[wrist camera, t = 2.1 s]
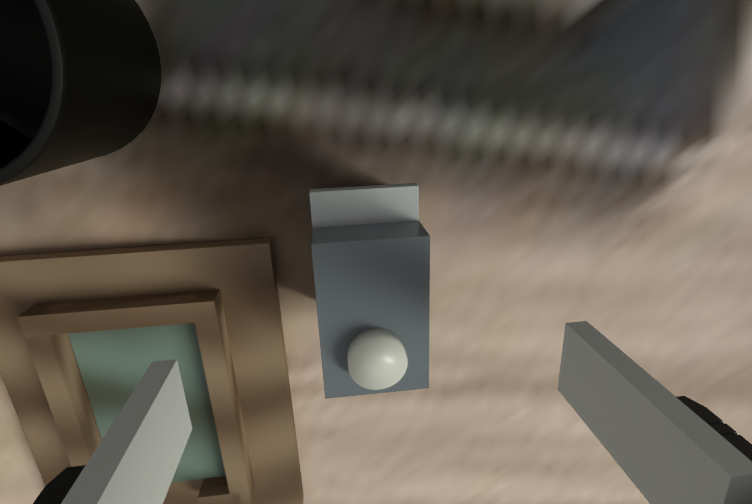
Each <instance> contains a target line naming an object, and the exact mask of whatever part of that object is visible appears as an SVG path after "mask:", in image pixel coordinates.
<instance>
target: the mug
mask: <svg viewBox="0 0 752 504" xmlns="http://www.w3.org/2000/svg"><path fill="white" fill-rule="evenodd" d="M160 86H161V66H160V58H159V52H158V48H157V44H156V40H155V38H154V35H153V33H152V30H151V28H150V25H149V23H148V21H147V19H146V18H145V16H144V14H143V12H142V10H141V9H140V7H139V6H138V4H137V3H136V1H135V0H0V185H4V184H7V183H11V182H14V181H17V180H21V179H24V178H28V177H31V176H35V175H38V174H41V173H45V172H48V171H52V170H55V169H59V168H62V167H65V166H69V165H72V164H76V163H79V162H83V161H86V160H89V159H93V158H96V157H100V156H103V155H107V154H109V153H112V152H114V151H116V150H118V149H121V148H123V147H124V146H125V145H127V144H128V143H130V142H131V141H132V140H133V139H135V138H136V137H137V136H138V135H139V134H140V133H141V132H142V130H143V129H144V128H145V126H146V125H147V123H148V122H149V120H150V119H151V117H152V115H153V112H154V110H155V108H156V105H157V102H158V97H159V93H160Z"/></svg>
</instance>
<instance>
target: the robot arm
mask: <svg viewBox="0 0 752 504" xmlns="http://www.w3.org/2000/svg"><path fill="white" fill-rule="evenodd" d="M558 390H559V391H560V392H561V394H562V395H563V396H564V397H565V399H566V400H567V401H568V402H569V404H570V405H571V406H572V407H573V409H574V410H575V411H576V412H577V413H578V415H579V416H580V417H581V418H582V420H583V421H584V422H585V423H586V425H587V426H588V427H589V428H590V430H591V431H592V432H593V433H594V435H595V436H596V437H597V438H598V440H599V441H600V442H601V443H602V445H603V446H604V447H605V448H606V449H607V451H608V452H609V453H610V454H611V456H612V457H613V458H614V459H615V461H616V462H617V463H618V464H619V466H620V467H621V468H622V469H623V471H624V472H625V473H626V474H627V476H628V477H629V478H630V479H631V481H632V482H633V483H634V484H635V485H636V487H637V488H638V489H639V490H640V492H641V493H642V494H643V495H644V497H645V498H646V499H647V500H648V502H649V503H650V504H752V444H751V443H749V442H748V441H747V440H746V439H744V438H743V437H742V436H741V435H737V433H736V431H734V430H733V429H732V428H731V427H730V426H728V425H727V424H724V423H723V421H722V420H721V419H720V418H718V417H717V416H716V415H715V414H713V413H712V412H711V411H710V410H709V409H707V408H706V407H704V406H703V405H701V404H699V403H697V402H695V401H693V400H691V399H689V398H687V397H685V396H680V397H675V396H674V395H673V394H672V393H671V392H669V391H668V390H667V389H666V388H665V387H663V386H662V385H661V384H660V383H659V382H658V381H656V380H655V379H654V378H653V377H652V376H651V375H649V374H648V373H647V372H646V371H645V370H643V369H642V368H641V367H640V366H639V365H638V364H636V363H635V362H634V361H633V360H632V359H631V358H629V357H628V356H627V355H626V354H625V353H623V352H622V351H621V350H620V349H619V348H618V347H616V346H615V345H614V344H613V343H612V342H611V341H609V340H608V339H607V338H606V337H605V336H603V335H602V334H601V333H600V332H599V331H598V330H596V329H595V328H594V327H593V326H592V325H590V324H589V323H588V322H587V321H583V322H572V323H566V325H565V333H564V342H563V350H562V358H561V366H560V374H559V382H558ZM191 431H192V425H191V420H190V416H189V411H188V407H187V402H186V398H185V393H184V389H183V384H182V380H181V375H180V371H179V366H178V361H177V359H176V360H165V361H155V362H152V363H151V364H150V366H149V368H148V369H147V371H146V372H145V374H144V375H143V377H142V378H141V380H140V382H139V383H138V385H137V386H136V388H135V389H134V391H133V392H132V394H131V396H130V397H129V399H128V400H127V402H126V403H125V405H124V406H123V408H122V410H121V411H120V413H119V414H118V416H117V417H116V419H115V420H114V422H113V424H112V425H111V427H110V428H109V430H108V431H107V433H106V434H105V436H104V438H103V439H102V441H101V442H100V444H99V445H98V447H97V448H96V450H95V452H94V453H93V455H92V456H91V458H90V459H89V461H88V462H87V464H86V465H82V466H73V467H67V468H65V469H64V470H63V471H62V472H61V473H60V474H59V475H57V476H56V477H55V478H54V479H53V480H52V481H50V482H49V483H48V484H47V485H46V486H45V487H44V489H43V490H42V492H41V493H40V495H39V496H38V497H37V499H36V500H35V502H34V503H33V504H163V502H164V500H165V497H166V494H167V492H168V489H169V487H170V484H171V482H172V479H173V477H174V474H175V471H176V469H177V466H178V464H179V461H180V459H181V456H182V454H183V451H184V449H185V446H186V443H187V441H188V438H189V436H190V433H191Z"/></svg>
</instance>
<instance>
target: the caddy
mask: <svg viewBox="0 0 752 504" xmlns="http://www.w3.org/2000/svg"><path fill="white" fill-rule="evenodd" d="M176 359H177V361H178V366H179V371H180V375H181V380H182V384H183V389H184V393H185V398H186V402H187V407H188V411H189V416H190V420H191V425H192V431H191V433H190V436H189V438H188V441H187V443H186V446H185V449H184V451H183V454H182V456H181V459H180V461H179V464H178V466H177V469H176V471H175V474H174V477H173V479H172V482H171V484H170V487H169V489H168V492H167V494H166V497H165V500H164V502H163V504H303V488H302V480H301V472H300V464H299V456H298V448H297V440H296V432H295V424H294V416H293V408H292V400H291V392H290V384H289V376H288V368H287V361H286V353H285V345H284V337H283V329H282V321H281V313H280V305H279V297H278V289H277V281H276V273H275V265H274V257H273V249H272V241H271V238H261V239H246V240H231V241H216V242H202V243H187V244H172V245H157V246H143V247H128V248H113V249H98V250H84V251H69V252H54V253H39V254H24V255H10V256H0V372H1V375H2V377H3V380H4V382H5V385H6V387H7V390H8V393H9V395H10V398H11V400H12V403H13V405H14V408H15V410H16V413H17V415H18V418H19V420H20V423H21V425H22V428H23V430H24V433H25V435H26V438H27V440H28V443H29V445H30V448H31V450H32V453H33V455H34V458H35V460H36V463H37V466H38V468H39V471H40V473H41V476H42V478H43V481H44V483H45V486H46V485H47V484H48V483H49V482H50V481H52V480H53V479H54V478H55V477H56V476H57V475H59V474H60V473H61V472H62V471H63V470H64V469H65V468H67V467H73V466H82V465H86V464H87V462H88V461H89V459H90V458H91V456H92V455H93V453H94V452H95V450H96V448H97V447H98V445H99V444H100V442H101V441H102V439H103V438H104V436H105V434H106V433H107V431H108V430H109V428H110V427H111V425H112V424H113V422H114V420H115V419H116V417H117V416H118V414H119V413H120V411H121V410H122V408H123V406H124V405H125V403H126V402H127V400H128V399H129V397H130V396H131V394H132V392H133V391H134V389H135V388H136V386H137V385H138V383H139V382H140V380H141V378H142V377H143V375H144V374H145V372H146V371H147V369H148V368H149V366H150V364H151V363H152V362H155V361H165V360H176Z"/></svg>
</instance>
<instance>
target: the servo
mask: <svg viewBox="0 0 752 504" xmlns="http://www.w3.org/2000/svg"><path fill="white" fill-rule="evenodd" d="M309 196H310V207H311V218H312V238H311V250H312V261H313V271H314V282H315V293H316V304H317V315H318V325H319V336H320V347H321V358H322V368H323V379H324V390H325V399H326V398H336V397H345V396H355V395H365V394H375V393H385V392H394V391H404V390H414V389H424V388H429V277H430V235H429V234H428V233H427V231H426V230H425V229H424V227H423V226H422V224H421V223H420V222H419V186H418V185H417V184H416V183H407V184H390V185H373V186H356V187H339V188H322V189H310V190H309Z"/></svg>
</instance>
